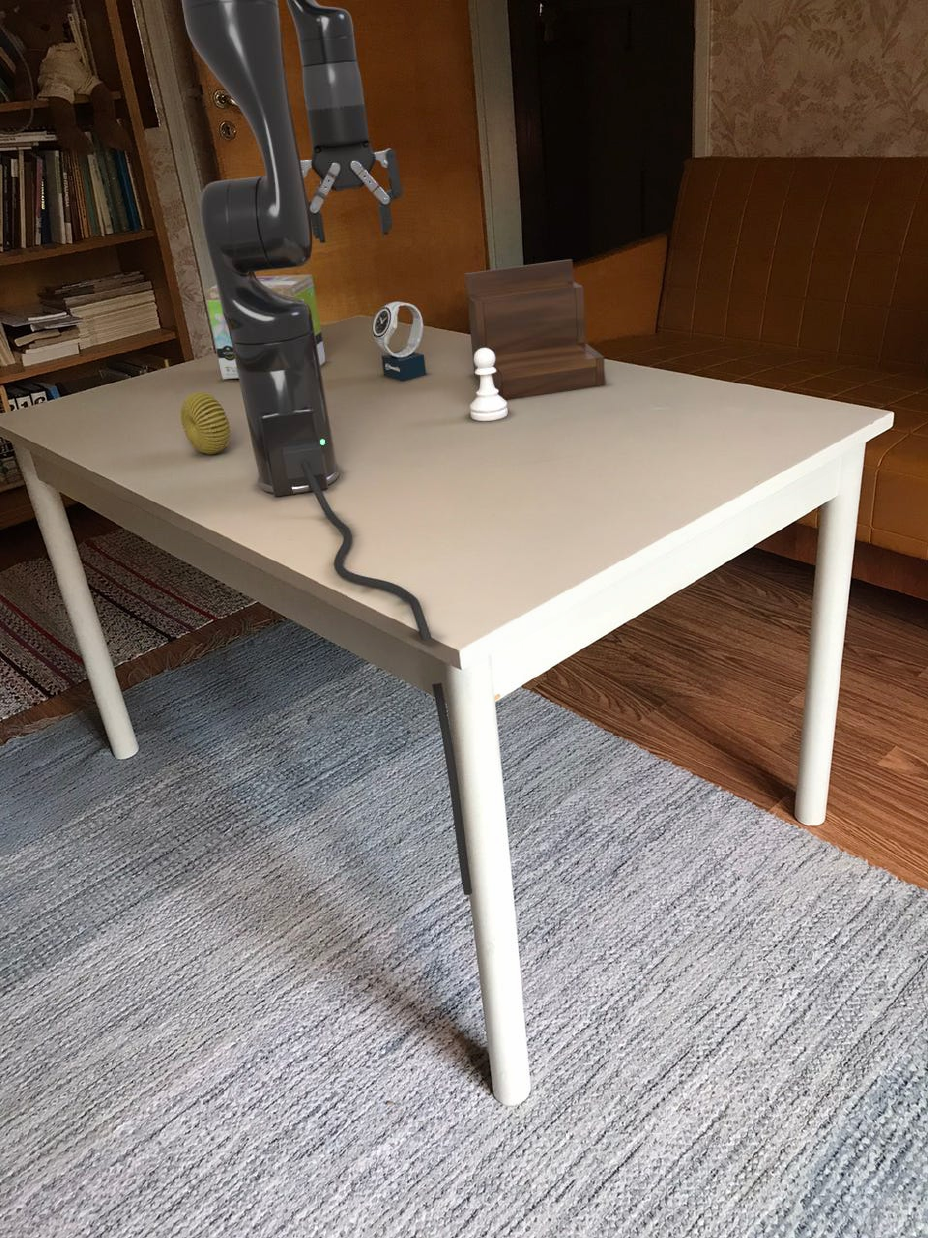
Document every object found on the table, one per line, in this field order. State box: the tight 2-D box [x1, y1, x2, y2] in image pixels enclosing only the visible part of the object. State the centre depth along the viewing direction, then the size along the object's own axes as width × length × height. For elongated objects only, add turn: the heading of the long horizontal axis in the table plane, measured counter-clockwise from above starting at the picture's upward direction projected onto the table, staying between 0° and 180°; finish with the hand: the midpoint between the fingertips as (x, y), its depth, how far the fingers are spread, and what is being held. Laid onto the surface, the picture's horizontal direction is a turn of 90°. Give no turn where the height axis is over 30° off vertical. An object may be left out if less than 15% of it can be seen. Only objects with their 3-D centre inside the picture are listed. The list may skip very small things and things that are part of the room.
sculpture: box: [180, 392, 231, 455], centre depth 130 cm, size 8×4×8 cm, turn 44°
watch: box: [371, 301, 427, 382], centre depth 155 cm, size 6×8×11 cm
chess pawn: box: [469, 348, 509, 422], centre depth 133 cm, size 5×5×9 cm
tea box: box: [204, 273, 326, 381], centre depth 164 cm, size 15×10×15 cm
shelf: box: [464, 258, 606, 401], centre depth 144 cm, size 15×16×15 cm
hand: (354, 237), depth 136 cm, fingers open, 8 cm apart
